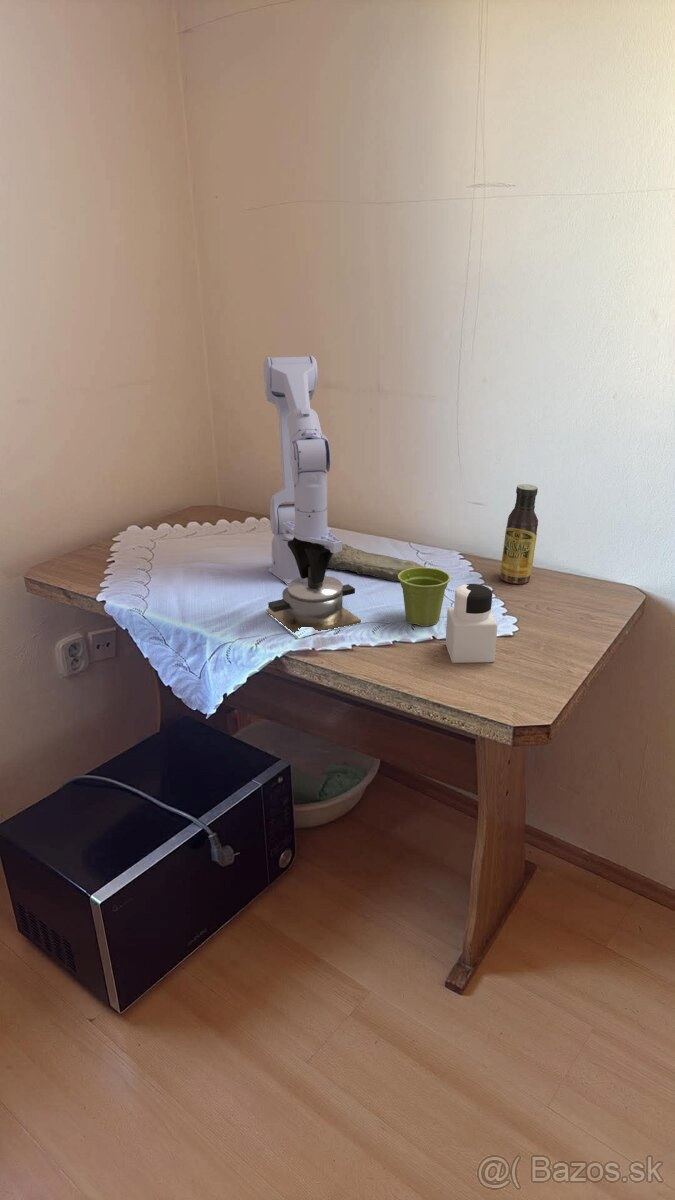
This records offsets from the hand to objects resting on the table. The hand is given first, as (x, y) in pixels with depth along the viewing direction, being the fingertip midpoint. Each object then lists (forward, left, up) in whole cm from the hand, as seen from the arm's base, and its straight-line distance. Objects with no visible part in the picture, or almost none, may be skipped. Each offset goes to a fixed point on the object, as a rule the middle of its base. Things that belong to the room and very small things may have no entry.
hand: (312, 579), depth 146 cm
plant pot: (+11, +17, -8) cm, 22 cm away
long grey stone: (-19, +20, -8) cm, 29 cm away
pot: (0, 0, -8) cm, 8 cm away
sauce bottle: (+5, +45, -8) cm, 46 cm away
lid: (0, +1, -2) cm, 3 cm away
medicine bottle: (+26, +16, -8) cm, 31 cm away
